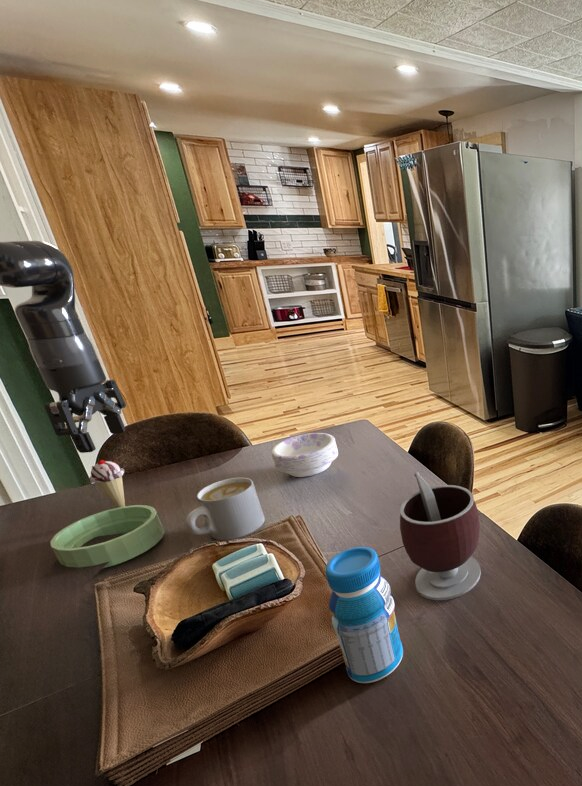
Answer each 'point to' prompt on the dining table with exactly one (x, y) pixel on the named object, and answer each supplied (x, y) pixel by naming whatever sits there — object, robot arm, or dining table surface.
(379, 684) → the dining table surface
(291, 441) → the paper bowls
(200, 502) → the coffee mug
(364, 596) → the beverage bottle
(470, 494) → the mate gourd
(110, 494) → the ice cream cone
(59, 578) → the dining table surface
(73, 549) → the green ring
